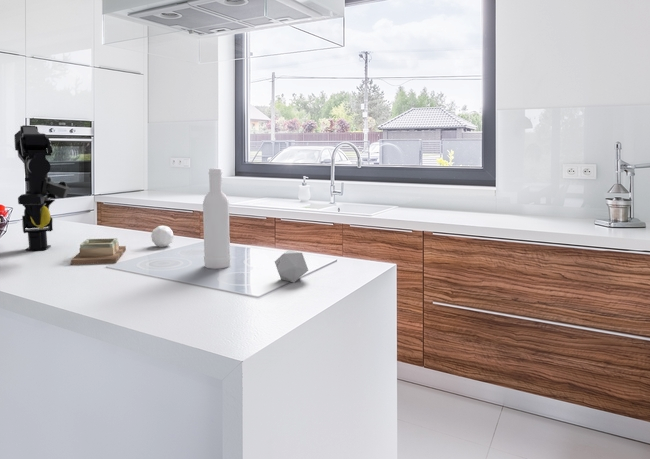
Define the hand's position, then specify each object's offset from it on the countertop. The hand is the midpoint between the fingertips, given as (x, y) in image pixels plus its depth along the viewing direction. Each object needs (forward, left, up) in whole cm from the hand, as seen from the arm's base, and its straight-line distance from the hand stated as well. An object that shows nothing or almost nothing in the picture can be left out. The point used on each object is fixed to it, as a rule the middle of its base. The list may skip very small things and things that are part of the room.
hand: (41, 223), depth 165 cm
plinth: (-1, +17, -12) cm, 20 cm away
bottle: (+18, +54, -12) cm, 58 cm away
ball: (-16, +35, -12) cm, 40 cm away
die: (+38, +74, -12) cm, 84 cm away
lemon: (0, 0, -2) cm, 2 cm away
